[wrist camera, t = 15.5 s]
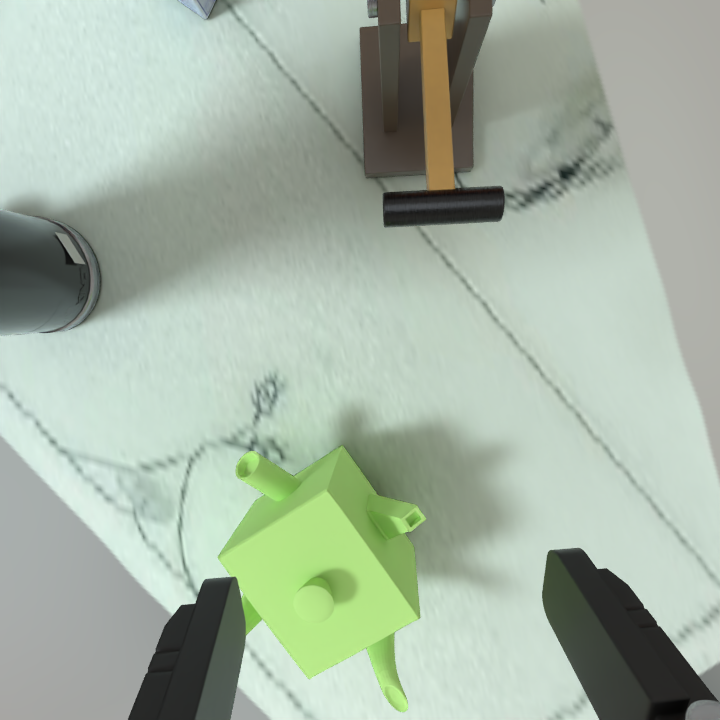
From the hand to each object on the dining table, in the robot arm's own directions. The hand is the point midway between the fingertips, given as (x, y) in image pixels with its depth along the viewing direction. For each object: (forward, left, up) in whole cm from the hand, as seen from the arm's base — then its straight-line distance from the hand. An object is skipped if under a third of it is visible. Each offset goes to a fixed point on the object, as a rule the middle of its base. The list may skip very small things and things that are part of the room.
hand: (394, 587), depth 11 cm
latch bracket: (0, +22, -25) cm, 33 cm away
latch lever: (+1, +16, -12) cm, 21 cm away
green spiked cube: (-5, -12, -25) cm, 28 cm away
